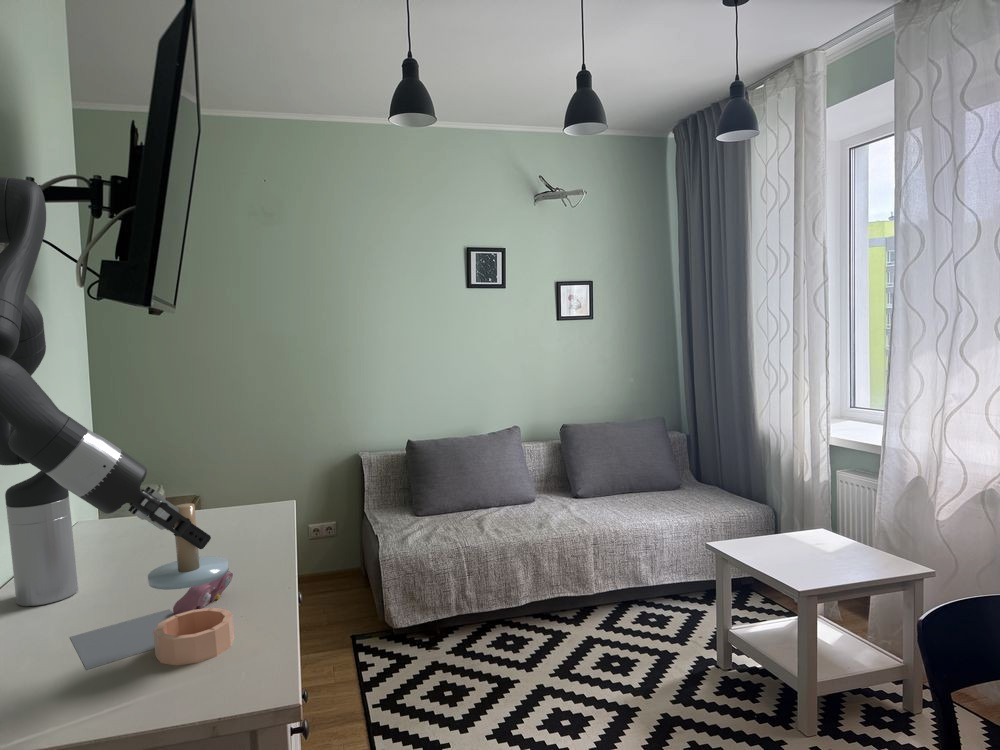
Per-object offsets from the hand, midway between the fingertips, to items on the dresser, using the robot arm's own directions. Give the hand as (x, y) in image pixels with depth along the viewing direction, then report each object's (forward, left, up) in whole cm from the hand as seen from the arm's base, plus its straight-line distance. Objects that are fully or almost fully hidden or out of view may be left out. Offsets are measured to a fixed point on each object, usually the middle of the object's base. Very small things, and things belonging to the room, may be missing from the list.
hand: (202, 540), depth 99 cm
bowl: (0, -2, -15) cm, 16 cm away
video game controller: (-16, +4, -16) cm, 23 cm away
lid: (0, -2, -5) cm, 5 cm away
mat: (-11, -8, -15) cm, 21 cm away
